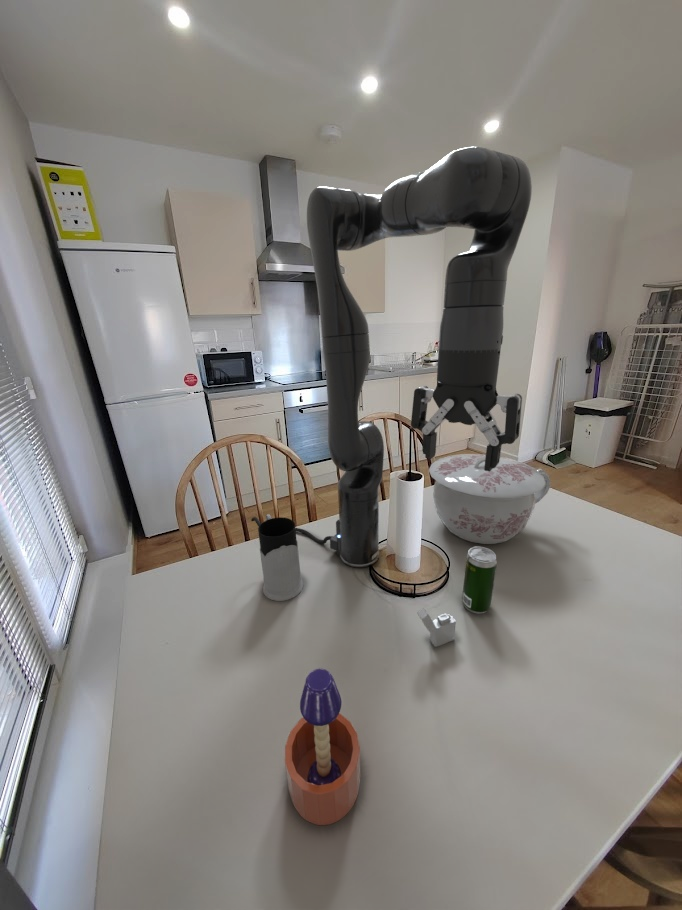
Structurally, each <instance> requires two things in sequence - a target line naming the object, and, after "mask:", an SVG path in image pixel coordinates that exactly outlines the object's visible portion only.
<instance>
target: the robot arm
mask: <svg viewBox="0 0 682 910" xmlns="http://www.w3.org/2000/svg"><path fill="white" fill-rule="evenodd" d="M532 185H533V184H532V176H531V172H530V169H529V167H528V165H527V164H526V162H525V160H523V159H521V158H519V157H517V156H514V155H510V154H508V153H505V152H504V153H503V152H500V151H496V150H493V149H490V148H487V147H483V146H468V147H463V148H459V149H457V150H453V151H451V152H449V153H447V154H446V155H445V156H444V157H442V158H441V159H440V160H439V161H437V162H436V163H435V164H432V166H431V167H429V168H428V169H425V170H422V171H418V172H415V173H413V174H409V175H406V176H404V177H400V178H398V179H397V180H395V181H393V182H392V183H390V184H389V185H388V186H387V187H386V188H385V189H384V190H383V192H382V193H381V194H367V193H361V192H359V191H356V190H355V189H345V188H339V187H333V186H332V187H329V186H318V187H315V188H313V190H312V191H311V192H310V194H309V196H308V199H307V205H306V229H307V236H308V243H309V248H310V254H311V261H312V267H313V272H314V277H315V283H316V289H317V298H318V309H319V317H320V318H319V319H320V333H321V343H322V354H323V355H322V356H323V362H324V368H325V369H324V370H325V382H326V395H327V396H326V397H327V446H328V451H329V456H330V458H331V460H332V462H333V464H334V466H335V467H336V468H338V470H340V471H343V472H344V473H343V475H342V476H341V477H340V479H339V480H338V482H337V497H338V500H337V501H338V519H337V520H336V521H335V535H327V536H325V537H324V538H323V539H319V538H317V537H316V536H314V535H313V534H312V533H310V532H309V531H308V530H305V529H304V528H298V527H295V529H296V533H301V534H304V535H306V536H307V537H308V538H310V539H311V540H312V541H314V542H316V543H317V544H321V545H324V544H326V543H327V542H328V541H329V547H330V549H331V550H333V551H336V555H337V557H340V560H341V561H342V562H343V563H344V564H345V565H347V566H349V567H353V568H360V569H361V568H367V567H370V566H372V565H374V564H376V563H377V561H378V560H379V557H380V549H379V535H380V534H379V531H380V529H379V521H380V520H379V519H380V518H379V517H380V514H379V513H380V512H379V511H380V510H379V509H380V508H379V507H380V505H379V503H380V502H379V498H380V497H379V496H380V494H379V493H380V492H379V489H380V485H381V483H382V479H383V473H384V457H385V455H384V454H385V444H384V438H383V434H382V432H381V430H380V429H379V428H378V426H377V425H376V424H375V423H374V422H371V421H368V420H361V421H359V401H360V397H361V394H362V393H361V392H362V389H363V386H364V383H365V380H366V377H367V373H368V371H369V366H370V360H371V346H370V344H371V343H370V331H369V330H370V329H369V324H368V320H367V318H366V316H365V314H364V312H363V310H362V308H361V306H360V305H359V303H358V301H357V300H356V299H355V297H354V295H353V293H352V292H351V290H350V288H349V286H348V285H347V283H346V280H345V278H344V275H343V272H342V269H341V263H340V258H339V257H340V256H339V251H343V252H344V251H345V252H351V251H352V252H353V251H356V250H359V249H362V248H365V247H367V246H369V245H371V244H374V243H376V242H378V241H381V240H385V239H388V238H389V239H390V238H408V237H418V236H427V235H433V234H437V233H439V232H442V231H443V230H445V229H446V228H463V229H471V230H474V231H473V237H472V240H471V242H470V246H469V248H468V251H465V252H462V253H459V254H457V255H455V256H453V257H452V258H451V259H450V260H449V262H448V263H447V265H446V271H445V279H444V293H443V294H444V295H443V296H444V297H443V309H442V317H441V321H440V326H439V336H438V337H439V338H438V353H437V367H436V368H437V370H436V386H435V389H434V388H429V387H428V386H427V385H422V386H419V387H417V388H415V389H414V391H413V397H412V398H413V399H412V410H411V419H410V426H411V428H413V429H414V430H415V429H416V430H419V432H421V433H422V450H421V451H422V454H423V455H424V458H425V459H428V460H432V459H433V458H434V457H435V456H436V453H437V441H438V440H437V439H438V432H437V431H436V430H437V429H438V428H439V426H440V425H441V424H442V423H444V422H445V421H448V423H450V424H457V423H460V424H463V425H466V426H472V425H476V427H477V428H478V430H479V432H480V433H482V434H483V436H484V437H485V438H486V440H487V442H488V444H487V445H486V449H485V455H486V458H485V467H484V471H489V472H490V471H491V470H492V469H493V468H495V467H496V466H497V465H498V463H499V460H500V457H501V452H502V445H506V444H507V445H513V444H514V443H515V442H516V440H517V439H518V438H519V437H520V430H521V418H522V417H521V416H522V405H523V404H522V403H523V396H522V395H521V394H519V393H515V394H512V395H504V394H498V391H497V382H498V374H499V365H500V358H501V348H502V345H503V341H504V335H503V334H504V306H505V299H506V298H505V297H506V289H507V280H508V270H509V266H510V263H511V261H512V258H513V256H514V254H515V252H516V248H517V245H518V242H519V239H520V236H521V233H522V231H523V228H524V225H525V222H526V220H527V216H528V212H529V209H530V205H531V200H532V192H533V191H532V189H533V188H532V187H533V186H532ZM432 399H433V401H434V402H435V405H436V406H437V407H438V409H437V410H436V412H435V413H433V415H432V416H431V417H430V418H429V420H426V419H427V413H428V403H430V402H431V401H432ZM497 404H498V405H499V406H500V410H501V412H502V413H504V414H505V424H504V432H502V431H501V429H500V427H499V426H498V423H497V420H496V418H495V416H494V415H493V413H492V410H493V409H494V408H495V407H496V406H497ZM250 521H251V522H255V524H256V525H257V527H259V526H260V524H262V522H260V520H259V518H258V517H257V516H254V517H251V519H250Z"/></svg>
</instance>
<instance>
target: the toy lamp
mask: <svg viewBox="0 0 682 910" xmlns="http://www.w3.org/2000/svg"><path fill="white" fill-rule="evenodd" d="M341 709H342V697H341V694H340V691H339V689H338V686H337V683H336V681H335V678H334V676H333V675H332V673H331V672H330V671H329V670H327V669H325V668H315V669H314V670H312V671H310V672H309V673H308V675H307V676H306V679H305V682H304V685H303V689H302V693H301V696H300V702H299V710H300V714H301V716H302V718H304V719H305V720H306V721H307V722H308V723H310V724H312V725H314V734H315V739H314V740H315V745H316V746H315V751H316V761H315V762H314V763H313V764H312V766H311V767H310V770H309V773H308V779H307V782H309V783H312V784H315V785H324V784H329V783H332V782H334V781H335V780H336V779H338V778H339V777H341V771H340V768H339V766H338V764H337V763H336V762H335V761H334V760H333V759H332V758H331V754H330V743H329V741H330V736H329V725H328V724H329V723H331V722H332V721H333V720H335V719H336V718H337V716H338V714H339V713H341Z"/></svg>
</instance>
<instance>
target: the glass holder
mask: <svg viewBox="0 0 682 910" xmlns="http://www.w3.org/2000/svg"><path fill="white" fill-rule="evenodd" d="M295 528H296V523H295V521H294V520H292V519H291V518H288V517H272V515H270V513H268V514H266V515H265V520H264V521H263V522H261V524H260V526H258V528H257V532H258V541H259V554H260V562H261V569H262V576H263V577H262V578H263V586H262V592H263V594H264V596H265V597H266V598H267V599H268V600H272V601H277V602H284V601H289V600H291V599H293V598H295V597H297V596H298V595H299V594H300V593H301V592H302V590H303V588H304V579H303V578H302V577H301V575H302V574H301V565H300V556H299V543H298V540H297V532H296V529H295Z"/></svg>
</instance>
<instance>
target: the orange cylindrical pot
mask: <svg viewBox="0 0 682 910" xmlns="http://www.w3.org/2000/svg"><path fill="white" fill-rule="evenodd" d="M328 725H329V736H330V741H329V743H330V754H331V758H332V759H333V760H334V761H335V762H336V763H337V764H338V766H339V768H340V771H341V777H339V778H338V779H336V780H335V781H334V782H332V783H329V784H324V785H315V784H312V783H309V782H307V779H308V773H309V770H310V767H311V766H312V764H313V763H314V762H315V761H316V751H315V746H316V745H315V740H314V739H315V734H314V725H312V724H310V723H308V722H307V721H306V720H305V719H304V718H303V717H302V718H300V719H299V720H298V721H297V723H296V724H295V725H294V726H293V728H292V729H291V730H290V732H289V735H288V737H287V740H286V744H285V745H284V746H285V747H284V764H285V772H286V779H287V786H288V793H289V796H290V799H291V802H292V804H293V806H294V808H295V810H296V812H297V813H298V814H299V815H300V817H301V818H302V819H304V820H305V821H307V822H308V823H310V824H313V825H318V826H326V825H327V826H328V825H331V824H334V823H337V822H339V821H340V820H342V819H343V818H344V817H345V816H347V814H348V813H349V812H350V811H351V809H352V808H353V807H354V805H355V802H356V800H357V798H358V795H359V791H360V784H361V749H360V742H359V737H358V736H359V735H358V732H357V731H356V729H355V728H354V726H353V724H352V722H351V721H350V720H349V719H348V718H346V717H345V716H344V715H342V714H341V712H339V714H338V716H337V718H336V719H335V720H333V721H332V722H331V723H329V724H328Z"/></svg>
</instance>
